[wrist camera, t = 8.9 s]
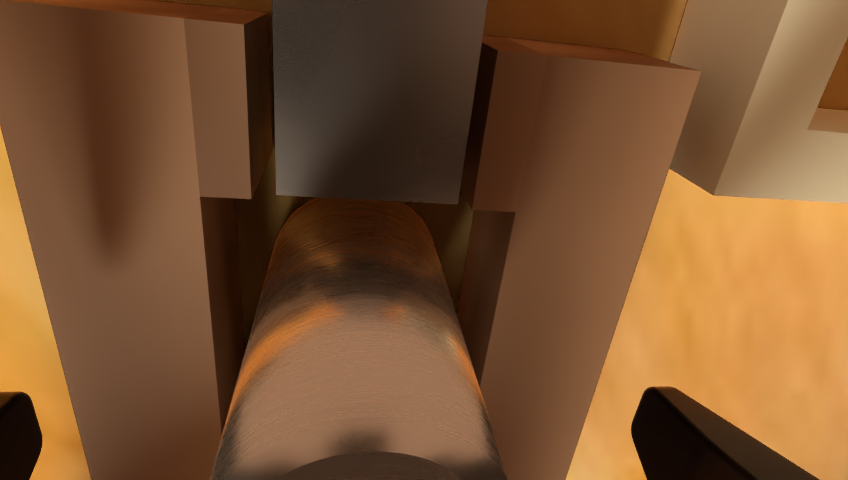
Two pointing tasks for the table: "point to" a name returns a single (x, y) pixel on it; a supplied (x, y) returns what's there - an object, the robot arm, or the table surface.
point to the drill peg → (356, 358)
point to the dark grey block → (374, 97)
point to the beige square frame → (763, 99)
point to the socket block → (238, 178)
